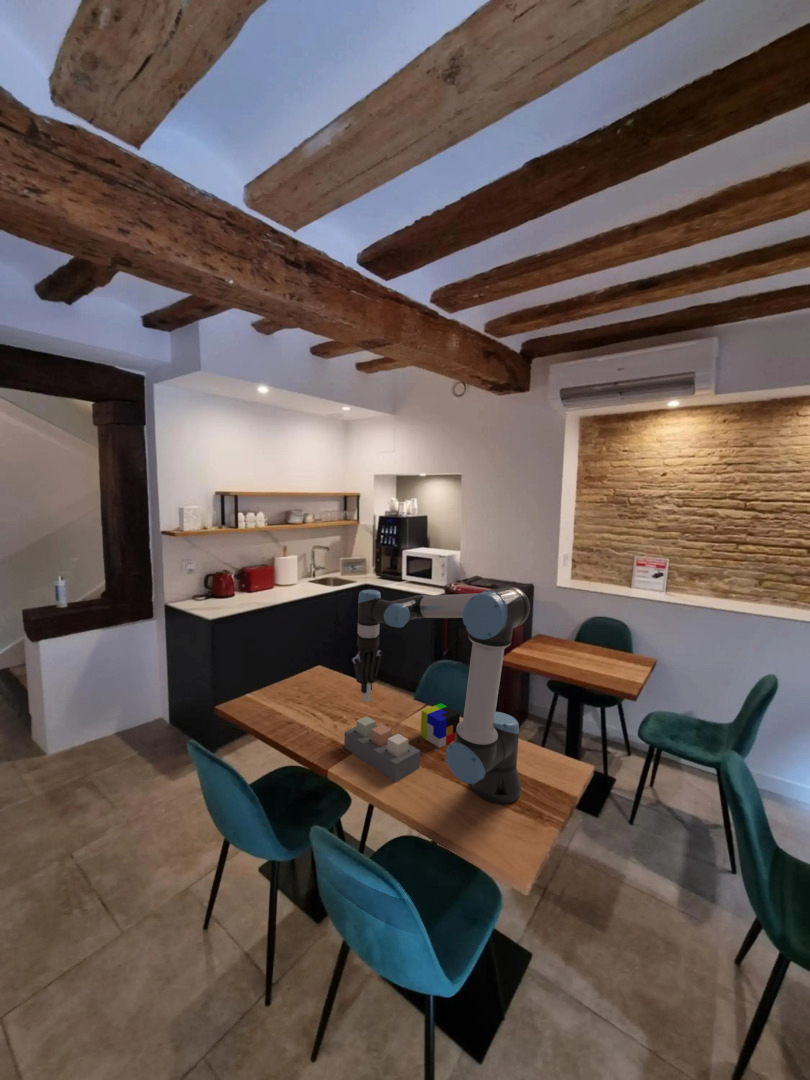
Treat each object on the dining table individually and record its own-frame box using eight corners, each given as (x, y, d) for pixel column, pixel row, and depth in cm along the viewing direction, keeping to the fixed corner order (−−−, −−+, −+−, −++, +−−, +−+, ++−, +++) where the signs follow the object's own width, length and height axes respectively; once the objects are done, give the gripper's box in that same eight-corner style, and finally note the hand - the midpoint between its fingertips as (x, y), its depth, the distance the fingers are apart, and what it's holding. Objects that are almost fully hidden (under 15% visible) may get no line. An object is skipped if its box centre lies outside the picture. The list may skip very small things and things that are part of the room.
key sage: (375, 741, 160) (375, 721, 159) (364, 746, 157) (365, 725, 156) (366, 736, 163) (366, 716, 163) (356, 740, 160) (356, 720, 159)
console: (419, 767, 149) (420, 750, 149) (395, 782, 142) (396, 764, 141) (368, 736, 168) (368, 721, 167) (344, 747, 160) (344, 731, 159)
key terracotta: (390, 750, 154) (391, 729, 154) (380, 756, 151) (381, 734, 150) (381, 745, 158) (382, 724, 157) (370, 750, 154) (371, 729, 154)
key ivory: (407, 761, 149) (408, 739, 148) (397, 766, 145) (397, 744, 145) (397, 754, 152) (398, 733, 151) (387, 760, 149) (387, 738, 148)
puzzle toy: (439, 748, 162) (440, 721, 161) (420, 736, 169) (421, 710, 168) (458, 739, 168) (459, 713, 167) (439, 727, 176) (440, 703, 175)
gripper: (375, 628, 163) (373, 691, 166) (346, 635, 154) (344, 702, 157) (389, 633, 158) (387, 698, 161) (360, 641, 149) (358, 710, 151)
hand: (366, 700), depth 159 cm, fingers closed
